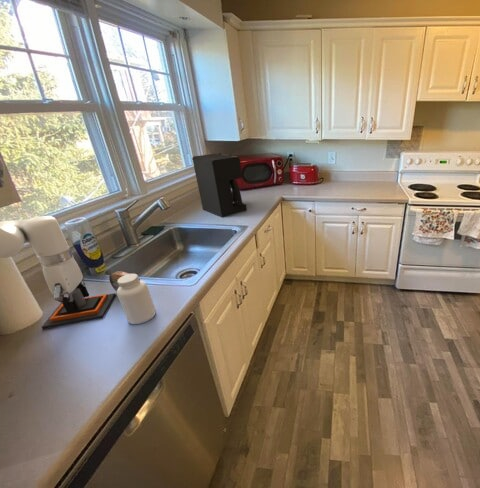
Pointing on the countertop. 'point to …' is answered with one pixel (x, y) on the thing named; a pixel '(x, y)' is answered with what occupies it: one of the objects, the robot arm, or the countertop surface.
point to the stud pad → (85, 308)
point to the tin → (116, 278)
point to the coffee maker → (219, 183)
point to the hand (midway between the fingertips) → (78, 303)
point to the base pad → (80, 313)
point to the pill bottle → (135, 299)
